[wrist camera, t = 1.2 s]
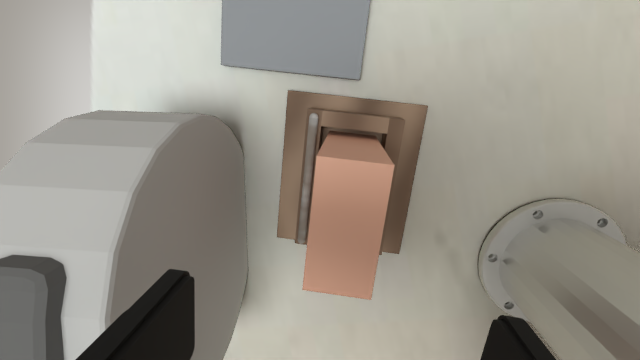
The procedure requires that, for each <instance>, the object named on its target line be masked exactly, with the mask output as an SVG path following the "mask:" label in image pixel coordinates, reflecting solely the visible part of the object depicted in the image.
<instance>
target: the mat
mask: <svg viewBox="0 0 640 360" xmlns="http://www.w3.org/2000/svg"><path fill="white" fill-rule="evenodd" d="M369 6H370V0H222V31H221V65H224V66H232V67H241V68H251V69H260V70H269V71H278V72H288V73H297V74H306V75H315V76H325V77H334V78H343V79H353V80H360V73H361V65H362V58H363V50H364V43H365V35H366V28H367V21H368V13H369Z"/></svg>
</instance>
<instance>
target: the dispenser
mask: <svg viewBox="0 0 640 360" xmlns="http://www.w3.org/2000/svg"><path fill="white" fill-rule="evenodd" d="M427 108H428V106H425V105H416V104H407V103H398V102H389V101H380V100H371V99H362V98H353V97H344V96H335V95H326V94H317V93H308V92H299V91H290V90H288V97H287V110H286V123H285V136H284V149H283V163H282V176H281V189H280V202H279V216H278V229H277V237H280V238H287V239H294V240H295V243H298V244H305V245H307V242H308V232H309V223H310V213H311V204H312V194H313V185H314V175H315V166H316V156H317V154H318V152H319V150H320V148H321V146H322V144H323V143H324V141H325V139H326V137H327V135H328V133H329V131H330V130H331V131H340V132H348V133H357V134H365V135H374V136H376V138H377V139H378V141H379V142H380V144H381V145H382V147H383V148H384V150H385V151H386V153H387V155H388V156H389V158H390V159H391V161H392V162H393V164H394V165H395V166H394V172H393V177H392V183H391V189H390V194H389V200H388V206H387V211H386V217H385V223H384V228H383V234H382V240H381V245H380V251H379V255H381V254H382V252H388V253H395V254H399V252H400V247H401V242H402V236H403V231H404V226H405V221H406V216H407V211H408V206H409V201H410V196H411V190H412V185H413V180H414V175H415V170H416V165H417V160H418V155H419V149H420V144H421V139H422V134H423V129H424V124H425V119H426V114H427Z"/></svg>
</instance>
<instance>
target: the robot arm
mask: <svg viewBox="0 0 640 360" xmlns="http://www.w3.org/2000/svg"><path fill="white" fill-rule="evenodd" d="M478 269H479V277H480V280H481V283H482V285H483V288H484V289H485V291H486V292H487V294H488V295H489V297H490V298H491V299H492V301H493V302H494V303H495V304H496V305H497V306H498V307H499V308H500V309H501V310H503V311H504V312H506V313H508V314H509V315H511V316H513V317H511V316H504V315H502V316H500V317H498V319H497V320H493V322H492V324H491V327H490V330H489V334H488V337H487V340H486V343H485V347H484V350H483V353H482V356H481V360H556V359H555V358H554V357H553V355H552V354H551V353H550V352H549V350H548V349H547V348H546V346H545V345H544V344H543V343H542V341H541V340H540V339H539V338H538V336H537V335H536V334H535V333H534V331H533V330H532V329H531V328H530V326H529V325H528V324H527V322H526V321H529V322H531V323H532V325H533V326H534V327H535V328H536V329H537V331H538V332H539V333H540V334H541V336H542V337H543V338H544V339H545V341H546V342H547V343H548V344H549V346H550V347H551V348H552V349H553V351H554V352H555V353H556V354H557V356H558V357H559V358H560V359H561V360H640V253H639V252H638V251H636V250H634V249H632V248H630V247H628V246H627V244H626V240H625V237H624V235H623V233H622V231H621V229H620V227H619V226H618V225H617V224H616V223H615V221H614V220H613V219H612V218H611V217H609V216H608V215H607V214H605V213H604V212H602V211H601V210H599V209H597V208H595V207H592V206H590V205H588V204H585V203H582V202H579V201H576V200H568V199H547V200H542V201H537V202H533V203H530V204H528V205H525V206H523V207H520V208H518V209H517V210H515V211H513V212H512V213H510V214H508V215H507V216H506V217H504V218H503V219H502V220H501V221H500V222H498V223H497V224H496V226H495V227H494V228H493V229H492V230H491V232H490V233H489V234H488V236H487V238H486V240H485V241H484V243H483V245H482V248H481V251H480V254H479V263H478ZM194 347H195V281H194V277H192V276H190V274H189V272H188V271H183V270H176V269H169V270H167V271H166V272H165V273H164V274H163V275H162V276H161V277H160V278H159V279H158V280H157V281H156V282H155V283H154V284H153V285H152V286H151V287H150V288H149V289H148V290H147V291H146V292H145V293H144V294H143V295H142V296H141V297H140V298H139V299H138V300H137V301H136V302H135V303H134V304H133V305H132V306H131V307H130V308H129V309H128V310H126V311H125V312H124V313H122V314H121V315H120V316H119V317H118V318H117V319H116V320H115V321H114V322H113V323H112V324H111V325H110V326H109V327H108V328H107V329H106V330H105V331H104V332H103V333H102V334H101V335H100V336H99V337H98V338H97V339H96V340H95V341H94V342H93V343H92V344H91V345H90V346H89V347H88V348H87V349H86V350H85V351H84V352H83V353H82V354H81V355H80V356H79V357H78V358H77V359H76V360H190V359H191V357H192V355H193V352H194Z"/></svg>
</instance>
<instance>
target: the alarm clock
mask: <svg viewBox="0 0 640 360" xmlns="http://www.w3.org/2000/svg"><path fill="white" fill-rule="evenodd" d="M169 269H176V270H183V271H188V272H189V274H190V276H192V277H194V281H195V347H194V352H193V355H192V357H191V359H190V360H223V358H224V356H225V353H226V351H227V348H228V346H229V343H230V341H231V338H232V335H233V331H234V328H235V325H236V322H237V319H238V315H239V312H240V308H241V303H242V299H243V295H244V290H245V286H246V280H247V274H248V249H247V223H246V196H245V170H244V155H243V152H242V149H241V146H240V144H239V142H238V140H237V139H236V137H235V135H234V134H233V132H232V130H231V129H230V128H229V127H228V126H227V125H226V124H224V123H223V122H222V121H221V120H220V119H218V118H217V117H215V116H209V115H203V114H190V113H161V112H132V111H103V110H98V111H94V112H90V113H86V114H82V115H78V116H74V117H70V118H66V119H63V120H62V121H60V122H59V123H57V124H56V125H54V126H52V127H51V128H49V129H47V130H46V131H44V132H42V133H41V134H39V135H38V136H36V137H35V138H33V139H31V140H30V141H28V142H26V143H25V144H24V146H23V147H22V148H21V149H20V150H19V151H18V152H17V153H16V154H15V155H14V157H13V158H12V159H11V160H10V161H9V162H8V163H7V164H6V165H5V166H4V168H3V169H2V170H1V171H0V360H76V359H77V358H78V357H79V356H80V355H81V354H82V353H83V352H84V351H85V350H86V349H87V348H88V347H89V346H90V345H91V344H92V343H93V342H94V341H95V340H96V339H97V338H98V337H99V336H100V335H101V334H102V333H103V332H104V331H105V330H106V329H107V328H108V327H109V326H110V325H111V324H112V323H113V322H114V321H115V320H116V319H117V318H118V317H119V316H120V315H121V314H122V313H124V312H125V311H126V310H128V309H129V308H130V307H131V306H132V305H133V304H134V303H135V302H136V301H137V300H138V299H139V298H140V297H141V296H142V295H143V294H144V293H145V292H146V291H147V290H148V289H149V288H150V287H151V286H152V285H153V284H154V283H155V282H156V281H157V280H158V279H159V278H160V277H161V276H162V275H163V274H164V273H165V272H166V271H167V270H169Z"/></svg>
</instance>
